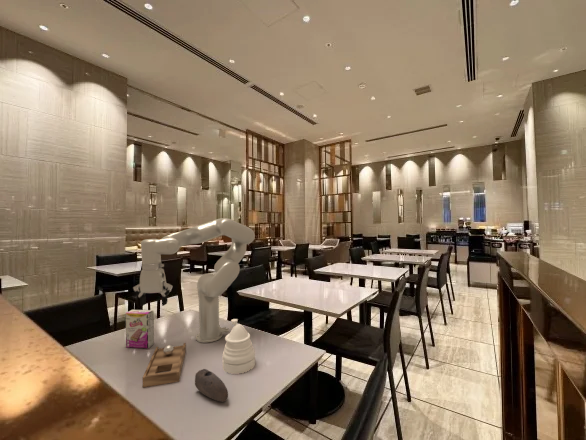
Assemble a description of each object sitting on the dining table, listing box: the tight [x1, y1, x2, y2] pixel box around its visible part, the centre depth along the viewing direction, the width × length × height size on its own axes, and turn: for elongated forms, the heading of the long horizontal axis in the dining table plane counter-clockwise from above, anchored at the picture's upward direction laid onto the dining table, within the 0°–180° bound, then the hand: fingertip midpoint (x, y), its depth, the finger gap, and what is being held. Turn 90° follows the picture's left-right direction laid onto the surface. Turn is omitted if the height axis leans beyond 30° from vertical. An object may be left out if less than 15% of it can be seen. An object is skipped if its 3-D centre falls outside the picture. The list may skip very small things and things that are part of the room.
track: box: [142, 342, 187, 388], centre depth 111 cm, size 24×12×4 cm, turn 16°
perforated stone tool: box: [194, 368, 229, 403], centre depth 93 cm, size 15×5×7 cm, turn 51°
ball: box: [163, 344, 175, 355], centre depth 116 cm, size 4×4×4 cm
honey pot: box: [221, 318, 256, 375], centre depth 112 cm, size 13×13×18 cm
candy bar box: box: [124, 309, 155, 349], centre depth 129 cm, size 11×5×16 cm, turn 84°
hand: (153, 304), depth 123 cm, fingers open, 9 cm apart
